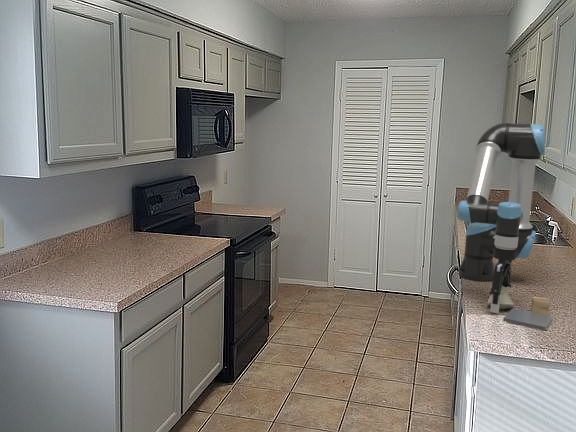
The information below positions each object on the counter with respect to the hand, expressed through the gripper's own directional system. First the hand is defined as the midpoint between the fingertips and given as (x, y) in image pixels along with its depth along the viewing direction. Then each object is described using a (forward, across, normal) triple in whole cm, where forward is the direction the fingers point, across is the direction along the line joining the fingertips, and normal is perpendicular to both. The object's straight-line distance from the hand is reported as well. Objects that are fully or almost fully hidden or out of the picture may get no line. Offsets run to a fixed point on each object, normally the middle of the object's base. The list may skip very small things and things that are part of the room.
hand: (498, 308), depth 201 cm
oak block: (0, -5, +12) cm, 13 cm away
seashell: (0, -1, +1) cm, 1 cm away
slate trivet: (0, +6, +11) cm, 13 cm away
